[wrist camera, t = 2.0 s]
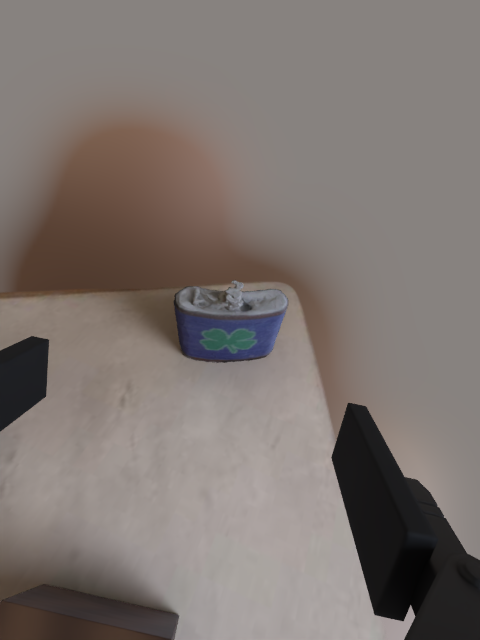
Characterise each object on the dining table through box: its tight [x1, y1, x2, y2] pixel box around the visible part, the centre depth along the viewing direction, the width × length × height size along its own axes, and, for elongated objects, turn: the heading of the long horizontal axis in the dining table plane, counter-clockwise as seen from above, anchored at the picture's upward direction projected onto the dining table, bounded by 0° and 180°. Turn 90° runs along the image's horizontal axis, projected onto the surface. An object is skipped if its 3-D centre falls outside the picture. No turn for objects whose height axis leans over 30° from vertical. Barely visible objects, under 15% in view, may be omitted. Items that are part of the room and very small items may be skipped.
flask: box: [174, 280, 288, 363], centre depth 31 cm, size 9×3×11 cm, turn 92°
